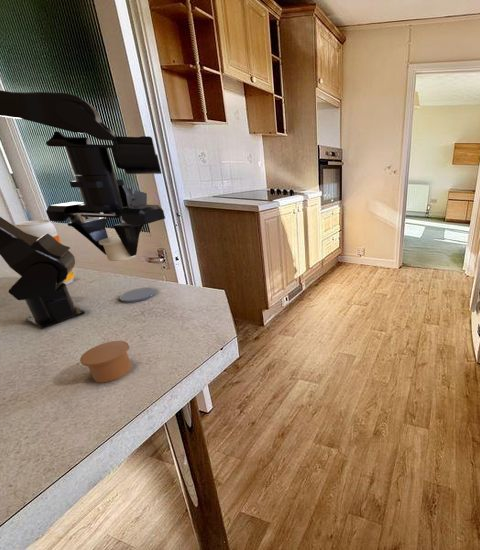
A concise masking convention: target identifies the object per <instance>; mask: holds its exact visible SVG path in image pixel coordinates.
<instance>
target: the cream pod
mask: <svg viewBox="0 0 480 550" xmlns="http://www.w3.org/2000/svg"><path fill="white" fill-rule="evenodd" d="M99 244H100V245H103V246H104V249H105V252H106V255H105V256H106V258H107V260H108V261H109V262H121V261H127V260H130V259H134V257H136V255H135V256H130V255H129V253H128V252H127V250H126V249H125V247H124V245H123V243H122V241H121V240H120V238H119V236H118V235H117V236H111V237H108V238H105V239H102V240H100V241H99Z"/></svg>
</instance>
